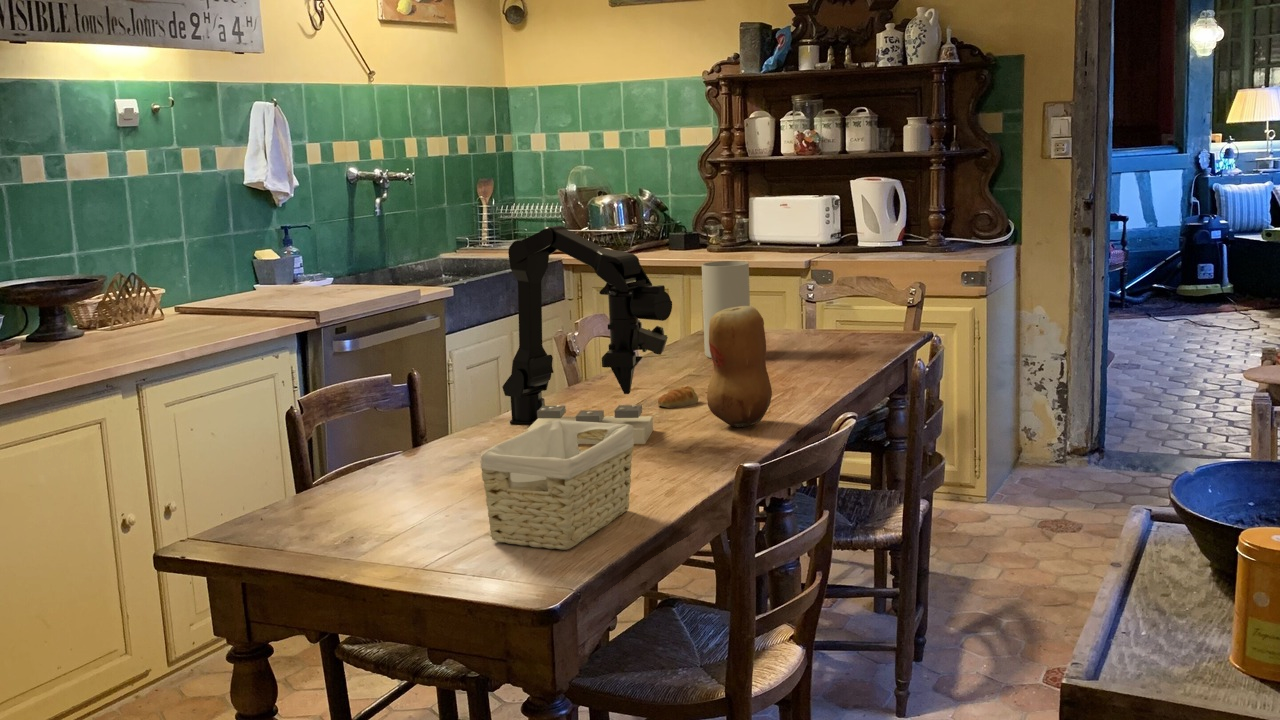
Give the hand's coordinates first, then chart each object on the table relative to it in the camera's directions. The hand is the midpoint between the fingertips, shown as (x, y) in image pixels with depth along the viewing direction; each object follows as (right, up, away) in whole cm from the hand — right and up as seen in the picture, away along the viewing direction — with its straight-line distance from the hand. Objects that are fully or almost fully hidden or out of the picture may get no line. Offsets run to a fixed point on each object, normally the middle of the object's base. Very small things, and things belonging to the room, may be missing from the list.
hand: (627, 393), depth 246 cm
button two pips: (0, -4, +1) cm, 4 cm away
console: (-7, -9, +3) cm, 12 cm away
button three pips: (-15, -5, +4) cm, 17 cm away
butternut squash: (+24, -7, +7) cm, 26 cm away
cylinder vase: (+26, +8, +83) cm, 87 cm away
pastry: (+11, -4, +29) cm, 32 cm away
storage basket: (-9, -20, -52) cm, 56 cm away
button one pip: (-8, -6, +2) cm, 10 cm away
